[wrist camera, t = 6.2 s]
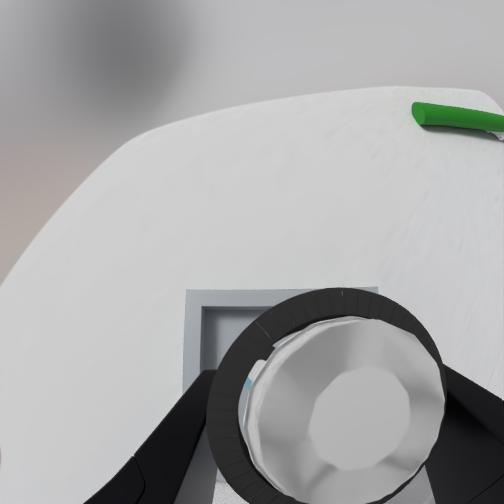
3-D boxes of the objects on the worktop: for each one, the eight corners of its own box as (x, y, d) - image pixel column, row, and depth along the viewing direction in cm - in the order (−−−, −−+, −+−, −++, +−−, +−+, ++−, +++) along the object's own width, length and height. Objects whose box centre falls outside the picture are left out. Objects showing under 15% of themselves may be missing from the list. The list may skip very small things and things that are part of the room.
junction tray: (371, 460, 14) (381, 467, 13) (190, 468, 15) (184, 477, 13) (367, 293, 19) (377, 286, 17) (192, 296, 19) (186, 289, 17)
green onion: (420, 137, 26) (542, 150, 26) (429, 117, 23) (552, 138, 23) (402, 109, 28) (528, 127, 27) (409, 88, 25) (536, 116, 24)
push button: (372, 391, 13) (525, 382, 4) (311, 471, 11) (405, 574, 2) (273, 320, 15) (325, 217, 5) (206, 400, 13) (134, 444, 4)
